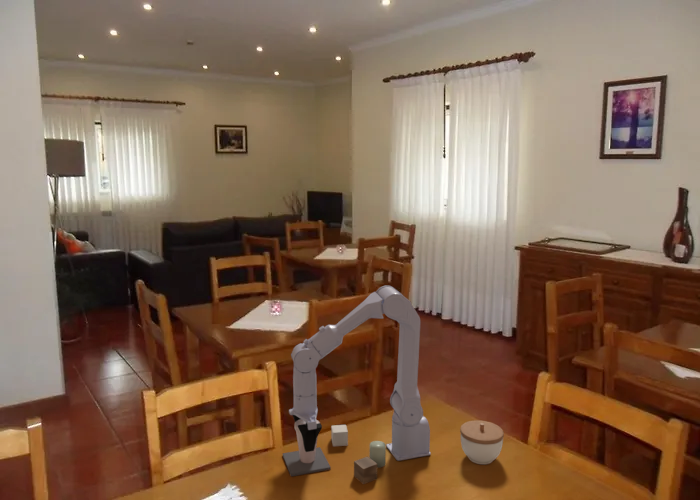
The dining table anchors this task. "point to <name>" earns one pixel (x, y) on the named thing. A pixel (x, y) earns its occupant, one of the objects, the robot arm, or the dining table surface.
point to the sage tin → (378, 453)
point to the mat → (303, 468)
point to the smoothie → (304, 456)
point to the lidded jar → (481, 441)
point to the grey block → (339, 435)
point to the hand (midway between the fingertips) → (305, 443)
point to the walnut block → (365, 470)
